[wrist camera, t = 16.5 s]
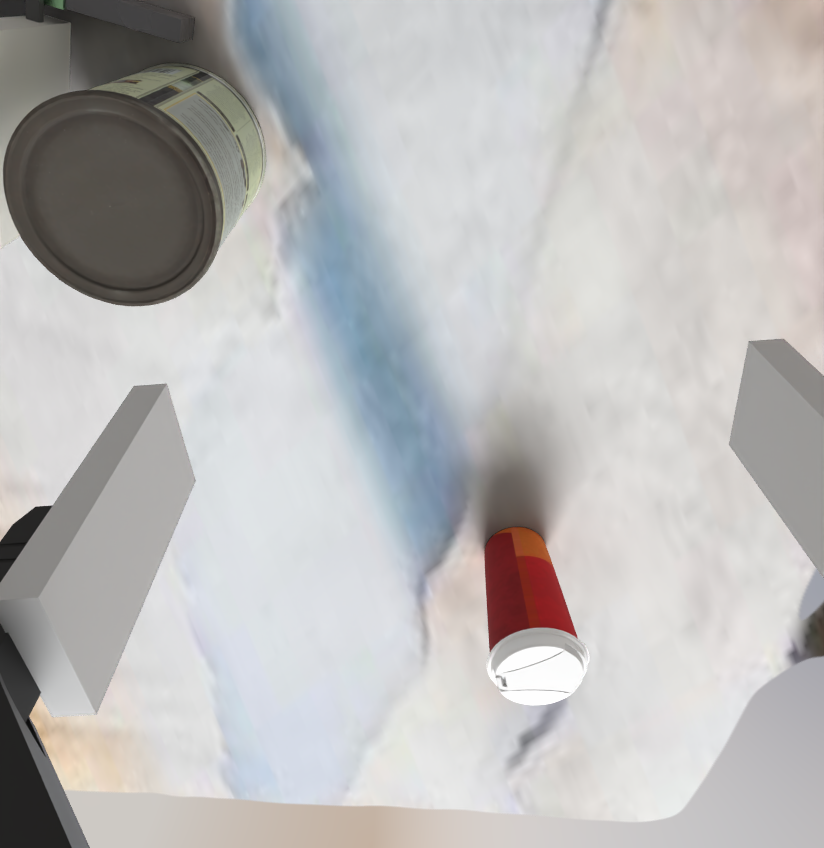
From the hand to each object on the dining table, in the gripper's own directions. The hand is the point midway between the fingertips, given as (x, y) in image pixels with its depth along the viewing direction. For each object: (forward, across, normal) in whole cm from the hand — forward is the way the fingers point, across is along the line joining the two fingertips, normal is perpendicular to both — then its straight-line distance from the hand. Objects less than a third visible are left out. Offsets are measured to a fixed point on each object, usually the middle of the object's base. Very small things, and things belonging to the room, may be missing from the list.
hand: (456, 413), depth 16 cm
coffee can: (+35, -15, 0) cm, 38 cm away
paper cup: (+35, +6, -36) cm, 50 cm away
